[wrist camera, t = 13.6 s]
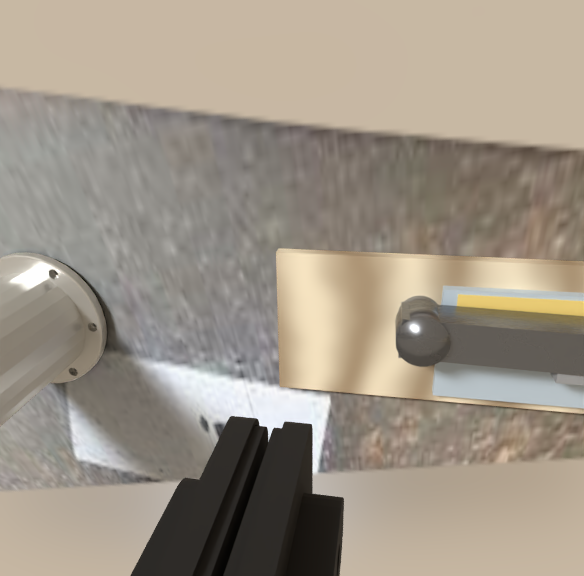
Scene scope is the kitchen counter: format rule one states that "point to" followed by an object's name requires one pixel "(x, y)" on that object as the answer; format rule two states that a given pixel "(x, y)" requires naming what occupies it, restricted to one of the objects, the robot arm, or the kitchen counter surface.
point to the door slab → (503, 380)
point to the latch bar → (489, 338)
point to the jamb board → (384, 314)
